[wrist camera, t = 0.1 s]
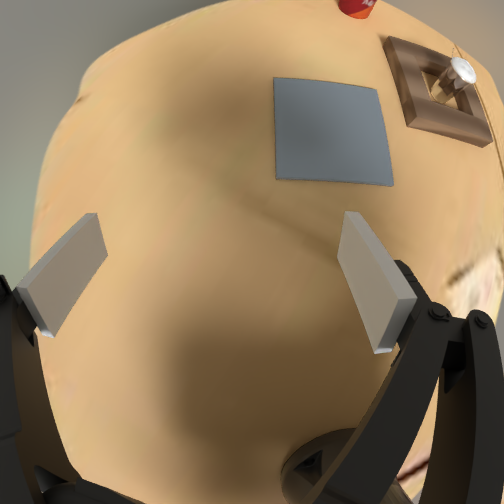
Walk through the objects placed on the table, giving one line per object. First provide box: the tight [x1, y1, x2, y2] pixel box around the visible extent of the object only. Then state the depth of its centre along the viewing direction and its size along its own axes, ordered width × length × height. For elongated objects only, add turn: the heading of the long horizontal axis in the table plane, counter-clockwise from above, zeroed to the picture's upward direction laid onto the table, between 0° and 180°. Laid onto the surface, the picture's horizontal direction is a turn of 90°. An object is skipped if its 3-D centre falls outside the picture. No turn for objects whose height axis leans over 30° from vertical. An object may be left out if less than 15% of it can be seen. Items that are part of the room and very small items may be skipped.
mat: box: [273, 78, 394, 186], centre depth 30 cm, size 14×14×1 cm
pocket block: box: [383, 36, 493, 148], centre depth 29 cm, size 16×16×3 cm
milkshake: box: [431, 48, 476, 104], centre depth 26 cm, size 4×5×10 cm
